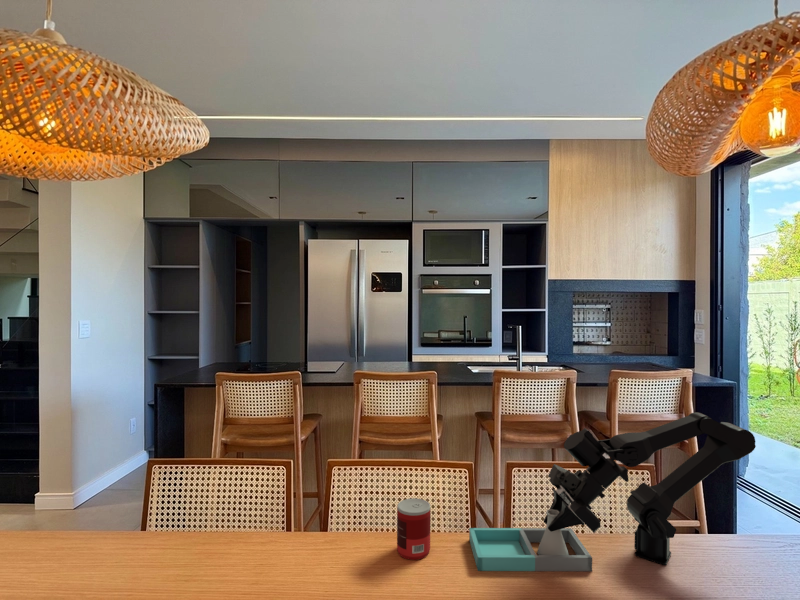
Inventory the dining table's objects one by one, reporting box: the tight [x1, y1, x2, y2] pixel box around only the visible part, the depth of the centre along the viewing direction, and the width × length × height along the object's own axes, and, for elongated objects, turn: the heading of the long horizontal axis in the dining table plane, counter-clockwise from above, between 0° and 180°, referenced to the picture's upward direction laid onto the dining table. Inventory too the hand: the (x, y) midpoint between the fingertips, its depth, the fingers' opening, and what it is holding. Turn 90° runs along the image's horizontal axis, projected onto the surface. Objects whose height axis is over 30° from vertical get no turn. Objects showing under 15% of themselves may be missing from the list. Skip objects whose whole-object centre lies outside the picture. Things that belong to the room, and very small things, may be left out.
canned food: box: [396, 498, 432, 561], centre depth 113 cm, size 8×8×11 cm
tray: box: [468, 527, 593, 572], centre depth 112 cm, size 25×13×3 cm, turn 90°
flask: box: [536, 508, 570, 555], centre depth 112 cm, size 7×7×10 cm
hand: (547, 526), depth 112 cm, fingers closed on flask, 3 cm apart
